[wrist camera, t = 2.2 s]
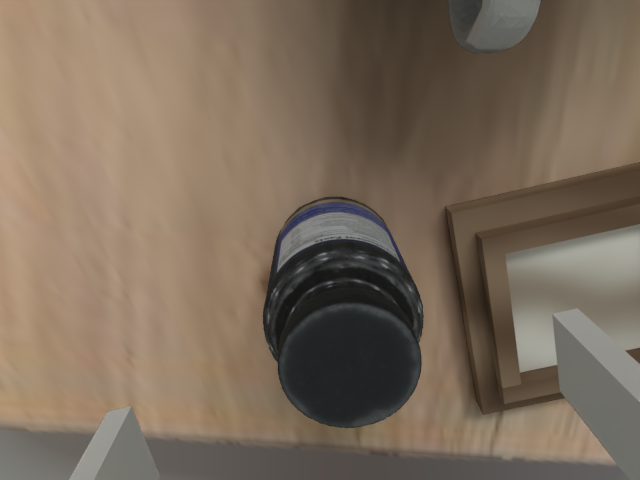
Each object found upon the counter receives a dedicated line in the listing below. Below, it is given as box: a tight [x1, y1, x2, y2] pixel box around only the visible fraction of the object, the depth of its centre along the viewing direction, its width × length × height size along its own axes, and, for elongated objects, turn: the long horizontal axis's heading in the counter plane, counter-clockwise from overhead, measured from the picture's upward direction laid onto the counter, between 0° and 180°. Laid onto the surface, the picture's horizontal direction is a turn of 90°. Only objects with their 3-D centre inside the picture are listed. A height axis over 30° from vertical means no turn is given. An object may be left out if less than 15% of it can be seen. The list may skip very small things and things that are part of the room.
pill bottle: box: [263, 197, 424, 428], centre depth 22 cm, size 6×6×11 cm
